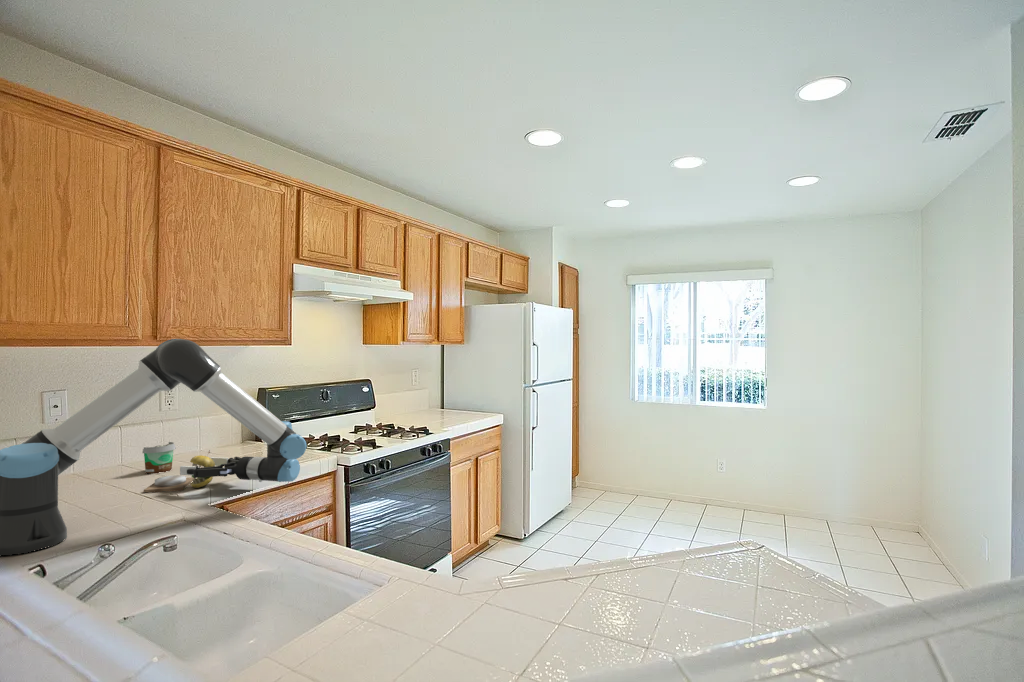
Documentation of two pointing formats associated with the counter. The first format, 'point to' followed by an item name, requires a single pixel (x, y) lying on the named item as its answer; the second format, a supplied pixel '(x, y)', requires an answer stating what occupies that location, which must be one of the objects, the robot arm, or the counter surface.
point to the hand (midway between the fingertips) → (196, 465)
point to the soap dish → (169, 483)
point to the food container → (158, 458)
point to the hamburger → (204, 462)
